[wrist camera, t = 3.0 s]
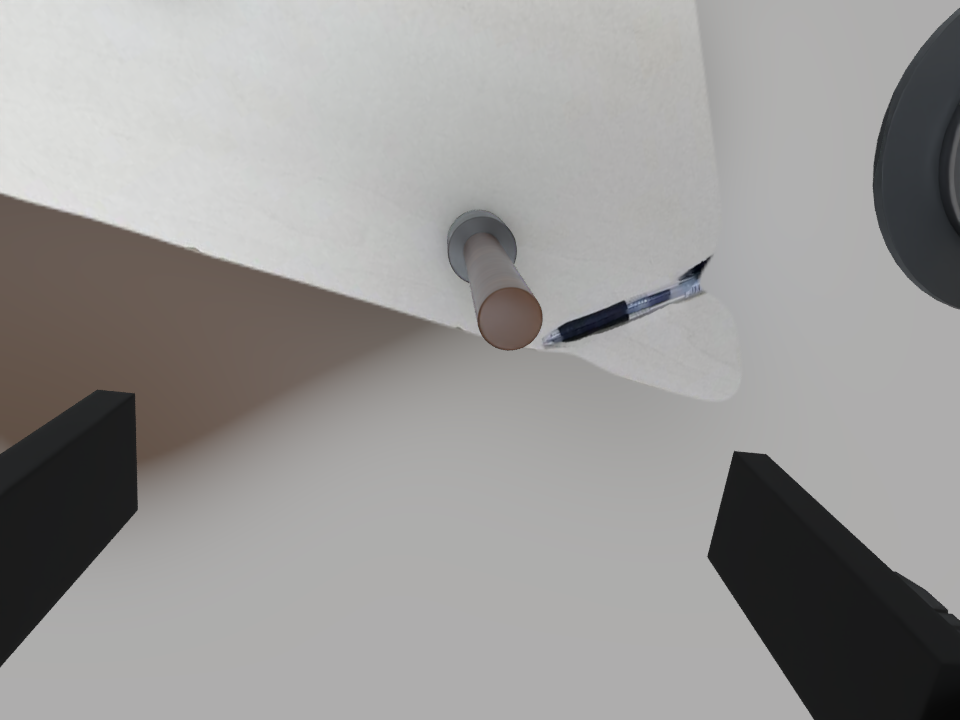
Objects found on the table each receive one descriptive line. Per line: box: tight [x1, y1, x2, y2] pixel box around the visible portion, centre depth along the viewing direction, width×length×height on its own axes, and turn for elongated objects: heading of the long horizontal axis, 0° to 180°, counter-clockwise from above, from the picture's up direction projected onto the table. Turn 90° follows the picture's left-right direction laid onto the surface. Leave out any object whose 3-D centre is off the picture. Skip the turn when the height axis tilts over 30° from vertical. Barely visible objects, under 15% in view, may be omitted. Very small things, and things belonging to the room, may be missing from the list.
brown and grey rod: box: [447, 210, 543, 350], centre depth 33 cm, size 4×4×22 cm
